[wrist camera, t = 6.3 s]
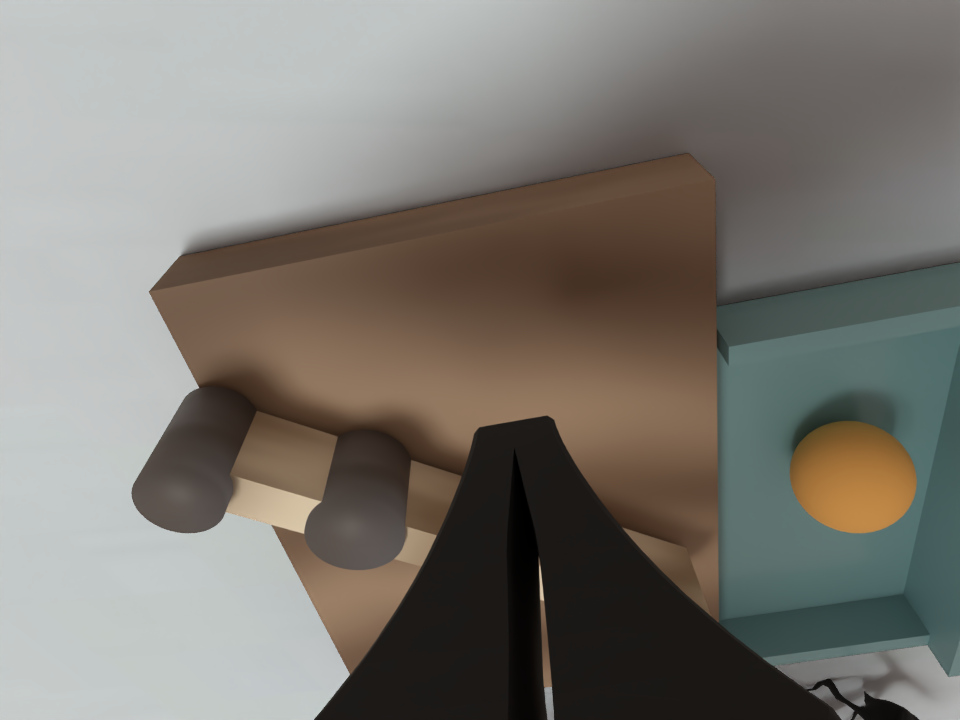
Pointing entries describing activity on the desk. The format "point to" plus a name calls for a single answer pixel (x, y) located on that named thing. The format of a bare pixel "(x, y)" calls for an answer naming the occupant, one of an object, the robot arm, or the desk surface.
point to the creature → (870, 706)
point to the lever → (315, 487)
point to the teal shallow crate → (819, 401)
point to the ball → (853, 477)
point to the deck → (485, 349)
